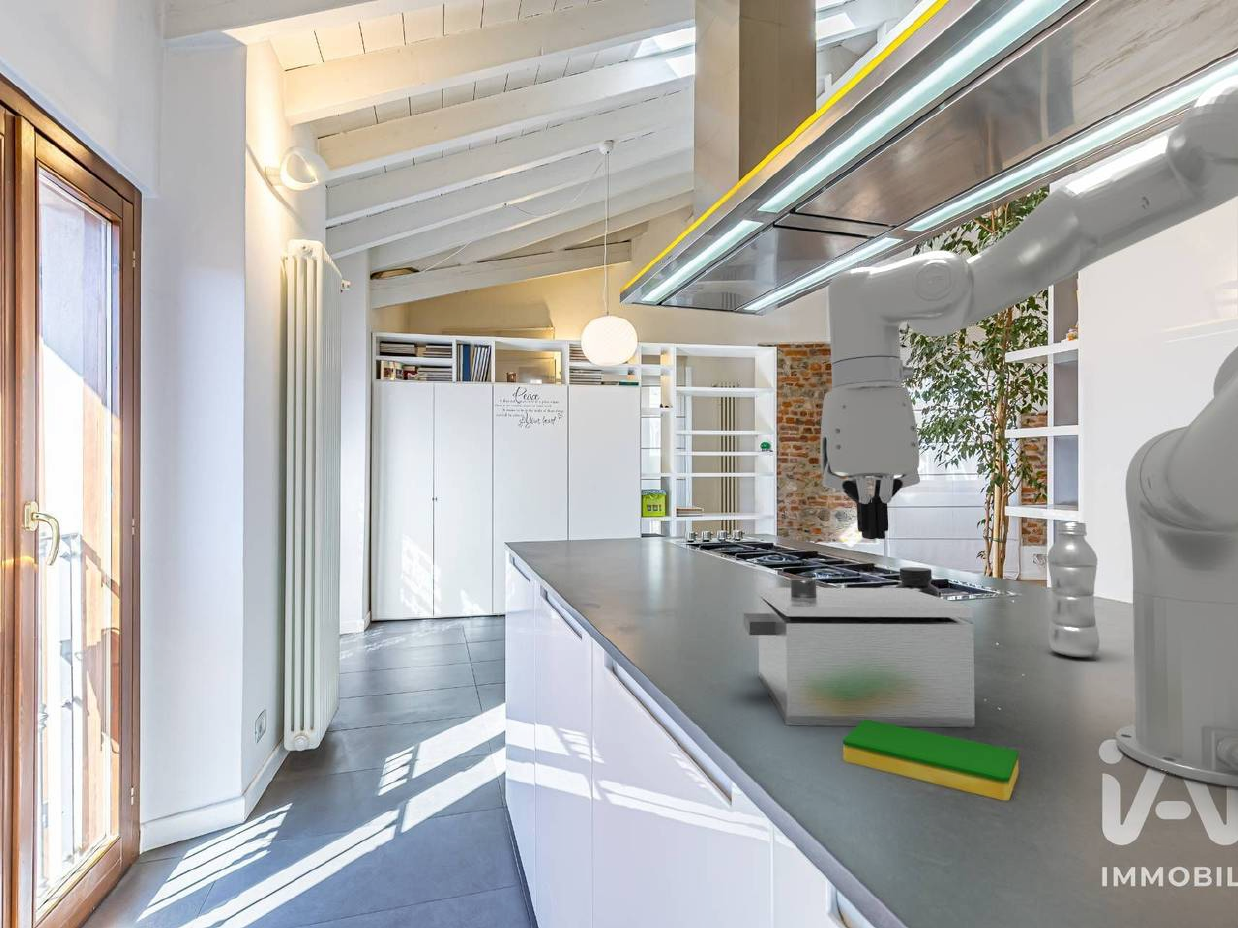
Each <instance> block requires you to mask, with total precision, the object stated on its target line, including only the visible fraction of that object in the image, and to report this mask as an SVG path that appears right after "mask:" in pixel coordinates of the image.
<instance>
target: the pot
mask: <svg viewBox="0 0 1238 928" xmlns="http://www.w3.org/2000/svg"><path fill="white" fill-rule="evenodd" d="M742 619H743V627H744V629H745V631H746V632H747V633H748V635H749V636H758V674H759V675H758V677H759V679H760V680H761V682H762V684H763V686H764V687H765V690H766V691H767V693H768V694H769V697H770V698H771V700H772V701H773V703H774V705H775V706H776V708H777V709H778V711H779V712H778V713H780V715H781V716H782V717H781V718H782V719H783V721H784V722H785V724H786V725H787V726H828V727H829V726H830V727H831V726H832V727H833V726H834V727H835V726H836V727H845V726H846V727H857V726H858V725H859V724H860V723H861V722H862V721H863V720H871V721H876V722H881V723H886V724H891V725H896V726H900V727H905V728H910V727H911V728H913V727H915V728H917V727H919V728H923V727H924V728H976V725H975V724H976V723H975V722H976V721H975V718H976V717H975V662H974V661H975V653H974V651H975V650H974V642H975V641H974V623H973V622H971V621H969V620H966V619H964V618H963V617H823V616H785V615H784V614H783V613H781V612H780V611H779V610H777V609H776V608H775V607H774V606H772V605H771V604H770V603H768V602H767V601H766V600H764V599H763V598H762V597H761V596H759V595H758V613H755V612H754V613H753V612H752V613H749V612H748V613H747V612H746V613H744V612H743V618H742Z"/></svg>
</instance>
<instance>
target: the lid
mask: <svg viewBox="0 0 1238 928" xmlns="http://www.w3.org/2000/svg"><path fill="white" fill-rule="evenodd" d="M759 596H761V597H762V598H763V599H764V600H766V601H767V602H768V603H770V604H771V605H772V606H774V607H775V608H776V609H777V610H779V611H780V612H781V613H783V614H784V615H785V616H823V617H960V618H974V608H973V607H971V606H968V605H964V604H961V603H958V602H954V601H951V600H948V599H946V598H942V597H940V596H939V597H935V596H932V595H929V594H926V593H922V592H919V591H916V590H912V589H909V588H895V587H817V579H812V578H790V587H758V597H759Z"/></svg>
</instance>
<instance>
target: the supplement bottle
mask: <svg viewBox="0 0 1238 928" xmlns="http://www.w3.org/2000/svg"><path fill="white" fill-rule="evenodd" d="M932 575H933V574H932V569H931V568H927V567H916V566H913V567H912V566H910V567H909V566H907V567H900V568H899V576H898V577H899V581H900V583H899V584H897V585H896V586H895V587H894V588H909V589H912V590H916V591H919V592H922V593H926V594H929V595H932V596H935V597H939V598H940V592H939V590H938V588H937V587H936V586H934V585H933V584H931V582H932V581H933V576H932Z"/></svg>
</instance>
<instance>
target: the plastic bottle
mask: <svg viewBox="0 0 1238 928" xmlns="http://www.w3.org/2000/svg"><path fill="white" fill-rule="evenodd" d="M1056 524H1057V526H1056V527H1057V529H1056V530H1057V531H1056V535H1058V539H1057V540H1055V542H1054V544H1052V546H1051V548H1050V549H1049V550H1048V553H1047V557H1046V558H1047V559H1046V560H1047V563H1048V565H1047V566H1048V572H1049V578H1050V584H1051V585H1050V588H1051V597H1052V603H1051V614H1050V615H1051V617H1050V618H1051V619H1050V622H1049V626H1048V632H1047V633H1048V634H1047V638H1048V643H1049V646H1050V648H1051V649H1052V651H1053V652H1055V653H1057V654H1060V655H1063V656H1064V655H1065V656H1067V657H1069V658H1070V657H1071V658H1090V657H1094V656H1096V654H1097V653H1098V652H1099V649H1100V637H1099V636H1100V635H1099V630H1098V627H1097V626H1096V625H1097V623H1096V614H1095V604H1094V603H1095V601H1094V600H1095V597H1094V595H1095V582H1096V575H1097V569H1098V567H1097V566H1098V558H1097V555H1096V552H1095V551H1094V549H1093V548H1092V546H1091V545H1090V544H1089V543H1088V542H1087V540H1086V539H1085V536H1088V535H1087V528H1086V527H1087V524H1086V523H1085V522H1078V521H1077V522H1073V521H1071V522H1070V521H1061V522H1060V521H1058V522H1057V523H1056Z"/></svg>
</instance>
